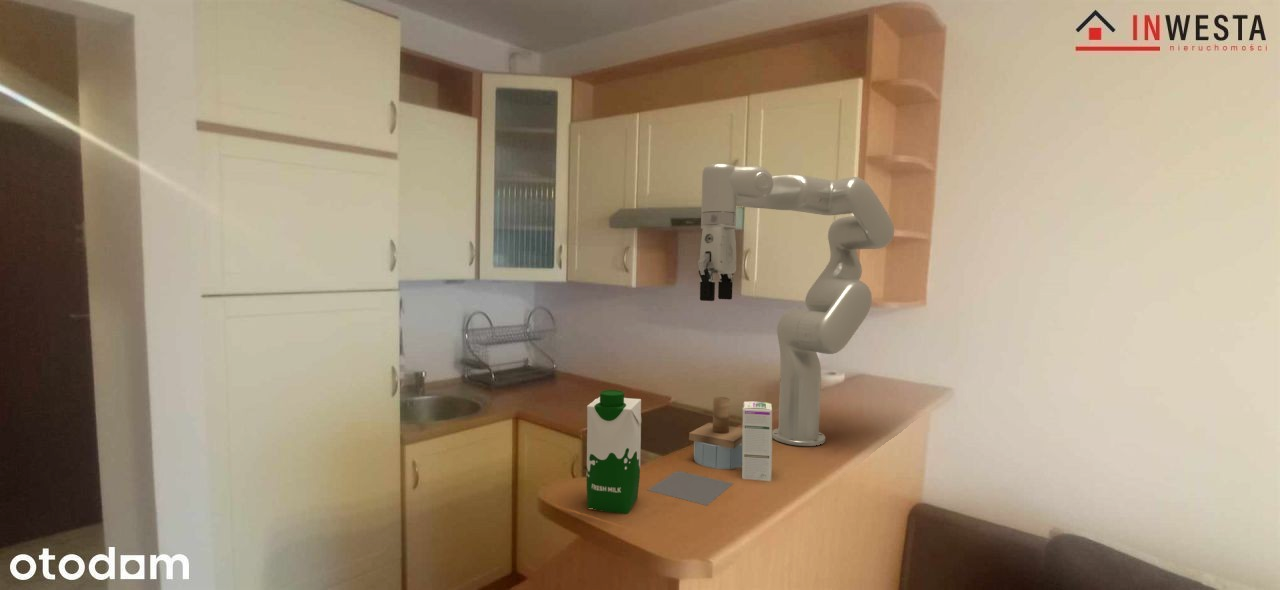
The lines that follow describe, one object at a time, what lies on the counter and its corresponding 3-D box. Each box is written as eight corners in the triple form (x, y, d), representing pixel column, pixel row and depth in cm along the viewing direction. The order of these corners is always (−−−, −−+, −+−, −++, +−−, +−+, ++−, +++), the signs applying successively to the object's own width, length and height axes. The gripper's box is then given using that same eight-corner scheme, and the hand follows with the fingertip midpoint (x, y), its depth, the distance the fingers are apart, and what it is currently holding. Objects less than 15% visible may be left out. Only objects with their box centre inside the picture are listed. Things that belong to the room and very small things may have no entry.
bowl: (707, 449, 127) (707, 428, 126) (753, 459, 121) (754, 436, 121) (685, 463, 117) (685, 440, 117) (734, 474, 112) (735, 449, 111)
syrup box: (771, 483, 107) (774, 408, 107) (740, 480, 108) (742, 406, 108) (770, 473, 113) (773, 402, 112) (741, 470, 114) (743, 400, 113)
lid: (751, 436, 121) (752, 397, 120) (733, 448, 112) (734, 406, 112) (708, 428, 126) (709, 391, 125) (689, 439, 117) (690, 400, 117)
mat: (677, 472, 112) (677, 470, 112) (733, 485, 106) (733, 483, 106) (647, 492, 102) (647, 490, 102) (707, 507, 96) (707, 505, 96)
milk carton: (580, 513, 93) (582, 393, 92) (596, 492, 101) (598, 383, 100) (631, 519, 91) (634, 397, 90) (643, 497, 99) (646, 386, 99)
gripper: (718, 217, 113) (716, 302, 113) (748, 224, 127) (746, 299, 128) (685, 219, 117) (683, 300, 117) (718, 225, 131) (716, 298, 132)
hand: (716, 299), depth 123 cm, fingers open, 9 cm apart
